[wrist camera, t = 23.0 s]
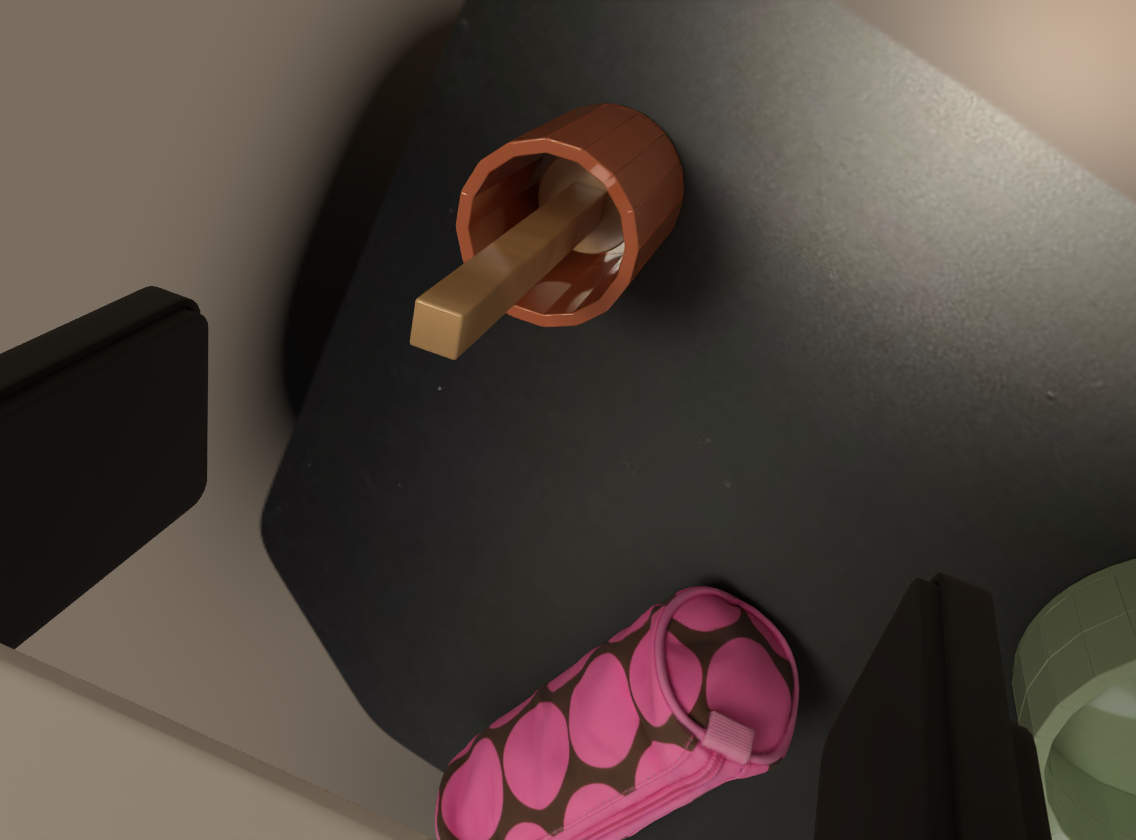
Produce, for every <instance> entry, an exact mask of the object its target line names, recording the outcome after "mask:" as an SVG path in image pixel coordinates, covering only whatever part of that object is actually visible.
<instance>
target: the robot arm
mask: <svg viewBox="0 0 1136 840" xmlns="http://www.w3.org/2000/svg"><path fill="white" fill-rule="evenodd" d="M207 417H208V322H207V320H206V318H205V317H204V316H203V315H201V314H200V309H199V307H198V305H197V303H196V302H194V301H193V300H192V299H189V298H186V297H183V296H181V295H178V294H175V293H172V292H170V291H167V290H164V289H161V288H159V287H154V286H149V287H145V288H143V289H140V290H138V291H136V292H134V293H132V294H130V295H128V296H125V297H123V298H121V299H119V300H117V301H114V302H112V303H110V304H108V305H106V306H104V307H101V308H99V309H97V310H95V311H93V312H90V313H88V314H86V315H84V316H82V317H80V318H78V319H75V320H73V321H71V322H69V323H67V324H64V325H62V326H60V327H58V328H56V329H53V330H51V331H49V332H47V333H45V334H43V335H40V336H38V337H36V338H34V339H32V340H30V341H27V342H26V343H23V344H21V345H19V346H17V347H14V348H12V349H10V350H8V351H6V352H3V353H1V354H0V840H434V839H432V838H430V837H428V836H425V835H423V834H421V833H419V832H416V831H414V830H412V829H410V828H408V827H406V826H404V825H401V824H399V823H397V822H395V821H393V820H391V819H388V818H386V817H384V816H382V815H380V814H378V813H375V812H373V811H371V810H369V809H367V808H364V807H362V806H360V805H358V804H356V803H354V802H351V801H349V800H347V799H345V798H342V797H340V796H338V795H336V794H333V793H331V792H329V791H327V790H325V789H322V788H320V787H318V786H316V785H314V784H312V783H309V782H307V781H305V780H303V779H301V778H298V777H296V776H294V775H292V774H290V773H287V772H285V771H283V770H281V769H279V768H276V767H274V766H272V765H270V764H268V763H265V762H263V761H261V760H259V759H257V758H254V757H252V756H250V755H248V754H246V753H243V752H241V751H239V750H237V749H234V748H232V747H230V746H228V745H226V744H224V743H221V742H219V741H217V740H215V739H213V738H210V737H208V736H206V735H204V734H201V733H199V732H197V731H195V730H193V729H190V728H188V727H186V726H184V725H181V724H179V723H177V722H175V721H173V720H170V719H168V718H166V717H164V716H162V715H159V714H157V713H155V712H153V711H150V710H148V709H146V708H144V707H142V706H140V705H137V704H135V703H133V702H130V701H128V700H126V699H124V698H122V697H120V696H117V695H115V694H113V693H111V692H108V691H106V690H104V689H102V688H99V687H97V686H95V685H93V684H90V683H88V682H86V681H84V680H82V679H79V678H77V677H75V676H72V675H70V674H68V673H66V672H64V671H61V670H59V669H57V668H55V667H52V666H50V665H48V664H46V663H43V662H41V661H39V660H37V659H34V658H32V657H30V656H27V655H25V654H23V653H21V652H19V651H16V650H14V649H15V648H17V647H18V646H19V645H20V644H22V643H23V642H24V641H25V640H27V639H28V638H29V637H30V636H32V635H33V634H34V633H35V632H37V631H38V630H39V629H40V628H42V627H43V626H44V625H45V624H47V623H48V622H49V621H50V620H51V619H53V618H54V617H55V616H57V615H58V614H59V613H60V612H62V611H63V610H64V609H65V608H67V607H68V606H69V605H70V604H72V603H73V602H74V601H75V600H77V599H78V598H79V597H80V596H82V595H83V594H84V593H85V592H87V591H88V590H89V589H90V588H92V587H93V586H94V585H95V584H96V583H98V582H99V581H100V580H102V579H103V578H104V577H105V576H107V575H108V574H109V573H110V572H112V571H113V570H114V569H115V568H117V567H118V566H119V565H120V564H122V563H123V562H124V561H125V560H127V559H128V558H129V557H130V556H132V555H133V554H134V553H135V552H137V551H138V550H139V549H140V548H142V547H143V546H144V545H145V544H147V543H148V542H149V541H150V540H152V539H153V538H154V537H155V536H157V535H158V534H159V533H160V532H161V531H163V530H164V529H165V528H167V527H168V526H169V525H170V524H172V523H173V522H174V521H175V520H176V519H178V518H179V517H180V516H181V515H183V514H184V513H185V512H186V511H188V510H189V509H190V508H191V507H193V506H194V505H195V504H196V503H197V502H198V500H199V499H200V497H201V496H202V494H203V492H204V490H205V486H206V482H207V422H208V421H207V419H208V418H207ZM814 840H1052V837H1051V831H1050V825H1049V819H1048V813H1047V808H1046V802H1045V796H1044V790H1043V784H1042V778H1041V772H1040V766H1039V761H1038V755H1037V749H1036V745H1035V742H1034V738H1033V735H1032V734H1031V733H1030V732H1029V730H1028V729H1027V728H1025V727H1022V726H1020V725H1017V724H1015V723H1012V722H1010V719H1009V712H1008V705H1007V698H1006V691H1005V684H1004V677H1003V670H1002V663H1001V655H1000V648H999V641H998V634H997V627H996V620H995V613H994V606H993V599H992V596H991V592H989V591H988V590H986V589H983V588H981V587H978V586H975V585H972V584H970V583H967V582H964V581H961V580H959V579H956V578H953V577H950V576H948V575H945V574H942V573H938V574H936V575H935V576H934V577H933V578H932V580H931V581H930V582H928V581H925V580H922V579H919V578H916V579H915V580H914V581H913V582H912V583H911V585H910V586H909V588H908V590H907V592H906V593H905V595H904V597H903V599H902V601H901V603H900V604H899V606H898V608H897V610H896V612H895V614H894V615H893V617H892V619H891V621H890V623H889V624H888V626H887V628H886V630H885V632H884V634H883V635H882V637H881V639H880V641H879V643H878V644H877V646H876V648H875V650H874V652H873V654H872V655H871V657H870V659H869V661H868V663H867V664H866V666H865V668H864V670H863V672H862V674H861V675H860V677H859V679H858V681H857V683H856V684H855V686H854V688H853V690H852V692H851V694H850V695H849V697H848V699H847V701H846V703H845V704H844V706H843V708H842V710H841V712H840V714H839V715H838V717H837V719H836V721H835V723H834V724H833V726H832V728H831V730H830V732H829V734H828V737H827V740H826V743H825V746H824V749H823V754H822V759H821V768H820V779H819V789H818V800H817V811H816V821H815V832H814Z"/></svg>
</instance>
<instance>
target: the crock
mask: <svg viewBox="0 0 1136 840" xmlns="http://www.w3.org/2000/svg"><path fill="white" fill-rule="evenodd" d="M557 157H561V158H564V159H568V160H571V161H574V162H577V163H579V164H580V165H581V166H582V167H584V168H585V169H586V170H587V171H588V172H590V173H591V174H592V175H593V176H594V177H596V178H597V179H598V180H599V181H600V182H602V183H603V184H604V186H605V187H606V189H607V191H608V193H609V195H610V196H611V198H612V200H613V202H614V203H615V205H616V207H617V209H618V211H619V212H620V216H621V223H622V230H623V238H624V242H623V243H622V244H621V245H620V246H618V247H616V248H615V249H613V250H610V251H608V252H604V253H599V254H586V253H581V252H577V251H574V250H572V251H571V252H569V253H568V254H567V255H566V256H565V257H564V258H563V259H562V260H561V261H560V262H559V263H558V264H557V265H556V266H555V267H554V268H553V269H551V270H550V271H549V272H548V273H547V274H546V275H545V276H544V277H543V278H542V279H541V280H540V281H539V282H538V283H537V284H536V285H535V286H533V287H532V288H531V289H530V290H529V291H528V292H527V293H526V294H525V295H524V296H523V297H522V298H521V299H520V300H519V301H518V302H516V303H515V304H514V305H513V306H512V307H511V308H510V309H509V310H508V311H507V312H506V313H507V314H509V315H511V316H513V317H515V318H518V319H521V320H524V321H527V322H530V323H533V324H536V325H539V326H542V327H543V326H544V327H558V326H576V325H580V324H582V323H584V322H586V321H588V320H590V319H592V318H594V317H596V316H598V315H600V314H602V313H604V312H606V311H607V310H609V309H610V307H611V306H612V305H613V304H614V303H615V301H616V300H617V299H618V298H619V296H620V295H621V294H622V293H623V292H624V290H625V289H626V288H627V287H628V285H629V284H630V283H631V282H632V280H633V279H634V278H635V276H636V275H637V274H638V273H639V271H640V270H641V269H642V268H643V266H644V265H645V264H646V262H647V261H648V260H649V259H650V257H651V256H652V255H653V254H654V252H655V251H656V250H657V248H658V247H659V246H660V245H661V243H662V242H663V241H664V240H665V238H666V237H667V236H668V234H669V233H670V232H671V231H672V229H673V228H674V226H675V223H676V221H677V219H678V216H679V213H680V211H681V207H682V202H683V196H684V177H683V171H682V166H681V163H680V159H679V156H678V154H677V152H676V150H675V148H674V146H673V144H672V142H671V141H670V139H669V138H668V136H667V135H666V134H665V133H664V131H663V130H662V129H661V128H660V127H659V126H658V125H657V124H656V123H655V122H654V121H652V120H651V119H650V118H648V117H647V116H645V115H644V114H642V113H640V112H638V111H636V110H634V109H631V108H629V107H626V106H622V105H617V104H608V103H601V104H592V105H587V106H583V107H579V108H576V109H573V110H571V111H569V112H567V113H565V114H563V115H561V116H559V117H557V118H555V119H553V120H551V121H550V122H548V123H546V124H544V125H542V126H540V127H538V128H536V129H534V130H532V131H530V132H528V133H526V134H524V135H522V136H520V137H518V138H516V139H514V140H512V141H510V142H509V143H507V144H505V145H504V146H502V147H501V148H499V149H498V150H496V151H495V152H493V153H491V154H490V155H488V156H487V157H485V158H484V159H482V160H481V161H480V162H479V163H478V165H477V166H476V168H475V170H474V171H473V173H472V174H471V176H470V178H469V179H468V181H467V182H466V184H465V186H464V187H463V189H462V192H461V196H460V202H459V208H458V215H457V221H456V230H457V235H458V240H459V244H460V249H461V254H462V258H463V261H464V263H466V262H467V261H468V260H470V259H471V258H472V257H474V256H475V255H476V254H478V253H479V252H480V251H482V250H483V249H484V248H486V247H487V246H489V245H490V244H491V243H493V242H494V241H495V240H497V239H498V238H499V237H501V236H502V235H503V234H505V233H506V232H507V231H509V230H510V229H512V228H513V227H514V226H516V225H517V224H518V223H520V222H521V221H522V220H524V219H525V218H526V217H528V216H529V215H530V214H532V213H533V212H535V211H536V210H537V209H539V202H538V192H539V185H540V182H541V179H542V176H543V174H544V172H545V170H546V169H547V167H548V166H549V165H550V163H551V162H552V161H553V160H554V159H555V158H557Z"/></svg>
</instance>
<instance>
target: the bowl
mask: <svg viewBox="0 0 1136 840" xmlns="http://www.w3.org/2000/svg"><path fill="white" fill-rule="evenodd" d="M1012 687H1013V695H1014V702H1015V709H1016V716H1017V723H1018V725H1020V726H1022V727H1025V728H1027V729H1028V730H1029V732H1030V733H1031V734H1032V735H1033V738H1034V742H1035V745H1036V749H1037V755H1038V761H1039V766H1040V772H1041V778H1042V784H1043V790H1044V796H1045V802H1046V808H1047V813H1048V819H1049V825H1050V831H1051V837H1052V840H1136V558H1135V559H1132V560H1129V561H1125V562H1122V563H1119V564H1116V565H1112V566H1110V567H1107V568H1105V569H1103V570H1100V571H1098V572H1096V573H1093V574H1091V575H1089V576H1087V577H1085V578H1083V579H1082V580H1080V581H1078V582H1076V583H1075V584H1073V585H1071V586H1069V587H1068V588H1067V589H1065V590H1064V591H1063V592H1061V593H1060V594H1059V595H1057V596H1056V597H1054V598H1053V599H1052V600H1051V601H1050V602H1049V603H1048V604H1047V605H1046V606H1045V607H1044V608H1043V609H1042V610H1041V611H1040V612H1039V613H1038V614H1037V615H1036V617H1035V618H1034V619H1033V621H1032V622H1031V623H1030V624H1029V626H1028V627H1027V629H1026V631H1025V633H1024V635H1023V636H1022V638H1021V640H1020V642H1019V645H1018V648H1017V651H1016V654H1015V657H1014V663H1013V669H1012Z"/></svg>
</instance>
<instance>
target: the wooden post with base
mask: <svg viewBox="0 0 1136 840" xmlns="http://www.w3.org/2000/svg"><path fill="white" fill-rule="evenodd" d="M538 202H539V209H537V210H536V211H535V212H533V213H532V214H530V215H529V216H528V217H526V218H525V219H524V220H522V221H521V222H520V223H518V224H517V225H516V226H514V227H513V228H512V229H510V230H509V231H507V232H506V233H505V234H503V235H502V236H501V237H499V238H498V239H497V240H495V241H494V242H493V243H491V244H490V245H489V246H487V247H486V248H484V249H483V250H482V251H480V252H479V253H478V254H476V255H475V256H474V257H472V258H471V259H470V260H468V261H467V262H466V263H464V264H463V265H462V266H460V267H459V268H457V269H456V270H455V271H453V272H452V273H451V274H449V275H448V276H447V277H445V278H444V279H443V280H441V281H440V282H439V283H437V284H436V285H434V286H433V287H432V288H430V289H429V290H428V291H426V292H425V293H424V294H422V295H421V296H420V297H418V298H417V299H416V302H415V310H414V317H413V324H412V331H411V338H410V344H411V345H413V346H416V347H419V348H422V349H424V350H427V351H430V352H433V353H436V354H438V355H441V356H444V357H447V358H450V359H452V360H456V359H457V358H458V357H459V356H460V355H461V354H462V353H464V352H465V351H466V350H467V349H468V348H469V347H470V346H471V345H472V344H473V343H474V342H475V341H476V340H477V339H478V338H479V337H480V336H482V335H483V334H484V333H485V332H486V331H487V330H488V329H489V328H490V327H491V326H492V325H493V324H494V323H495V322H496V321H497V320H498V319H500V318H501V317H502V316H503V315H504V314H505V313H506V312H507V311H508V310H509V309H510V308H511V307H512V306H513V305H514V304H515V303H516V302H518V301H519V300H520V299H521V298H522V297H523V296H524V295H525V294H526V293H527V292H528V291H529V290H530V289H531V288H532V287H533V286H535V285H536V284H537V283H538V282H539V281H540V280H541V279H542V278H543V277H544V276H545V275H546V274H547V273H548V272H549V271H550V270H551V269H553V268H554V267H555V266H556V265H557V264H558V263H559V262H560V261H561V260H562V259H563V258H564V257H565V256H566V255H567V254H568V253H569V252H571V251H572V250H574V251H577V252H581V253H586V254H599V253H604V252H608V251H610V250H613V249H615V248H616V247H618V246H620V245H621V244H622V243H623V242H624V238H623V230H622V223H621V216H620V212H619V211H618V209H617V207H616V205H615V203H614V202H613V200H612V198H611V196H610V195H609V193H608V191H607V189H606V187H605V186H604V184H603V183H602V182H600V181H599V180H598V179H597V178H596V177H594V176H593V175H592V174H591V173H590V172H588V171H587V170H586V169H585V168H584V167H582V166H581V165H580V164H579V163H577V162H574V161H571V160H568V159H564V158H561V157H557V158H555V159H554V160H553V161H552V162H551V163H550V165H549V166H548V167H547V169H546V170H545V172H544V174H543V176H542V179H541V182H540V185H539V192H538Z"/></svg>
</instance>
